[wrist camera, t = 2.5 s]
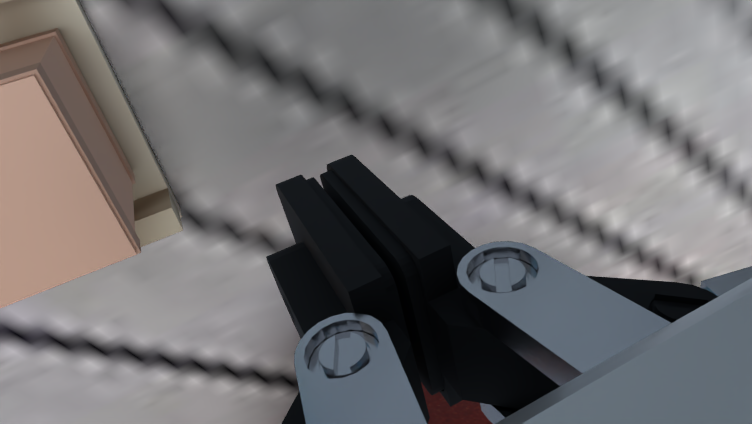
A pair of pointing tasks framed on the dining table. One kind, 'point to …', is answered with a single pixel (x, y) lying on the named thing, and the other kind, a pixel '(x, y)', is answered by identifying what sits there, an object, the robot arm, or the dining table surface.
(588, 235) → the dining table surface
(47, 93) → the pink-tan cube
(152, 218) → the bay
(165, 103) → the dining table surface
